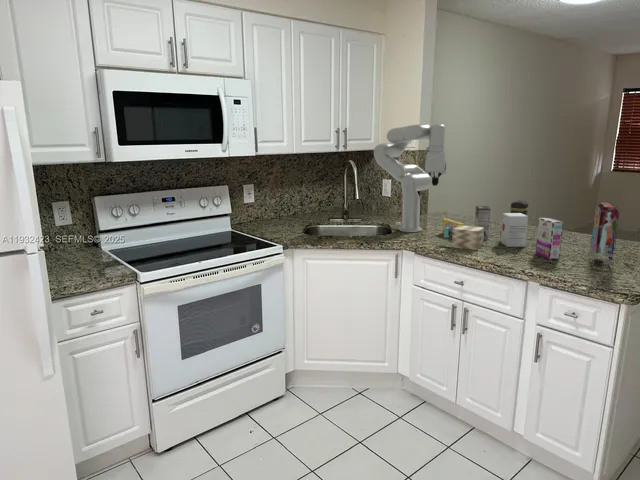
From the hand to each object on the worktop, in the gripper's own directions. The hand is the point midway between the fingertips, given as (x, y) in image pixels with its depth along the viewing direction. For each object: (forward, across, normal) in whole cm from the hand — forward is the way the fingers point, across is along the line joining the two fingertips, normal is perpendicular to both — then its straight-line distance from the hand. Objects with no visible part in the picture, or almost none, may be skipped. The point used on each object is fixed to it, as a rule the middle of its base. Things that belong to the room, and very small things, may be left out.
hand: (435, 185), depth 235 cm
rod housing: (+27, +22, -14) cm, 38 cm away
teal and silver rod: (+23, +20, -14) cm, 34 cm away
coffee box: (+27, +23, +8) cm, 37 cm away
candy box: (+28, +9, +5) cm, 29 cm away
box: (+27, +76, -12) cm, 82 cm away
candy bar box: (+27, +57, -15) cm, 65 cm away
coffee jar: (+27, +38, +22) cm, 52 cm away
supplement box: (+27, +40, 0) cm, 48 cm away
